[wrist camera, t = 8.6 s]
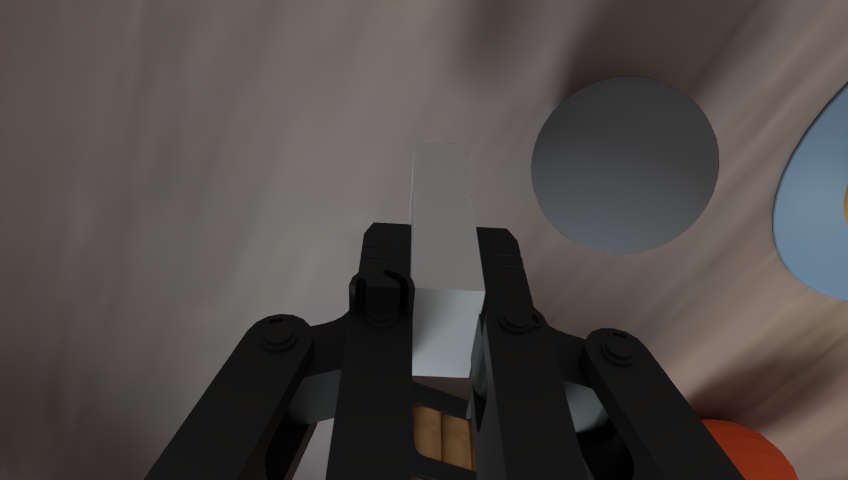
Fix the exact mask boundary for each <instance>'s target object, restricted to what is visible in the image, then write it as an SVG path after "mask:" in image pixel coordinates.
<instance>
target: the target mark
mask: <svg viewBox="0 0 848 480" xmlns="http://www.w3.org/2000/svg"><path fill="white" fill-rule="evenodd" d="M847 185H848V83H847V84H846V85H845V86H844V87H843V88H842V89H841V91H840V92H839V93H838V94H837V95H836V96H835V97H834V98H833V99H832V100H831V101H830V102H829V103H828V104H827V105H826V107H825V108H824V109H823V110H822V112H821V113H820V114H819V115H818V117H817V118H816V119H815V121H814V122H813V123H812V124H811V126H810V127H809V128H808V130H807V131H806V133H805V134H804V136H803V137H802V139H801V141H800V142H799V144H798V145H797V147H796V148H795V150H794V152H793V153H792V155H791V157H790V160H789V162H788V164H787V166H786V168H785V170H784V172H783V174H782V177H781V180H780V183H779V186H778V189H777V192H776V195H775V201H774V207H773V212H772V231H773V236H774V241H775V245H776V248H777V250H778V252H779V255H780V257H781V259H782V260H783V262H784V263H785V265H786V266H787V267H788V269H789V270H790V271H791V272H792V274H793V275H795V276H796V277H797V278H798V279H799V280H800V281H801V282H802V283H804V284H805V285H807V286H809V287H810V288H812V289H814V290H815V291H817V292H820V293H822V294H825V295H827V296H830V297H833V298H837V299H841V300H846V301H848V226H847V223H846V219H845V215H844V196H845V192H846V188H847Z"/></svg>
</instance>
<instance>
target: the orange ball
mask: <svg viewBox="0 0 848 480" xmlns="http://www.w3.org/2000/svg"><path fill="white" fill-rule="evenodd" d="M844 215H845V219H846V223H847V226H848V185H847V188H846V192H845V196H844Z"/></svg>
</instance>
